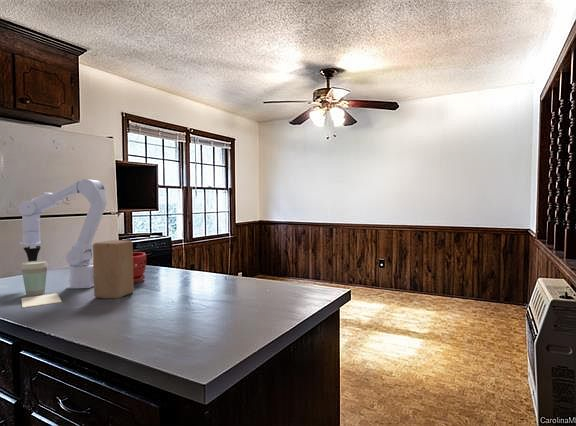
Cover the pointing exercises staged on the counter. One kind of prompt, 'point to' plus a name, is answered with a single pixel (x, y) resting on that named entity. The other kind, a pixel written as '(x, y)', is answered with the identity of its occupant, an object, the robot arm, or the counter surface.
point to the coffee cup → (34, 277)
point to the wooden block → (113, 268)
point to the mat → (40, 300)
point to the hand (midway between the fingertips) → (32, 264)
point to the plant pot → (138, 266)
